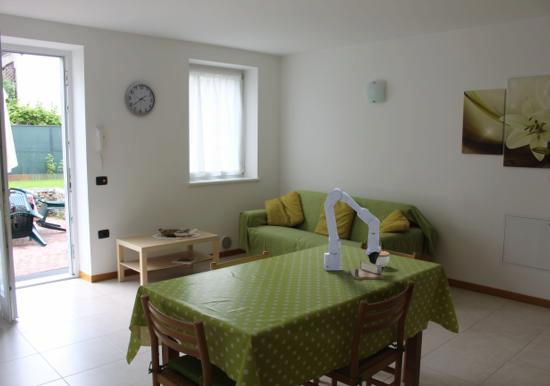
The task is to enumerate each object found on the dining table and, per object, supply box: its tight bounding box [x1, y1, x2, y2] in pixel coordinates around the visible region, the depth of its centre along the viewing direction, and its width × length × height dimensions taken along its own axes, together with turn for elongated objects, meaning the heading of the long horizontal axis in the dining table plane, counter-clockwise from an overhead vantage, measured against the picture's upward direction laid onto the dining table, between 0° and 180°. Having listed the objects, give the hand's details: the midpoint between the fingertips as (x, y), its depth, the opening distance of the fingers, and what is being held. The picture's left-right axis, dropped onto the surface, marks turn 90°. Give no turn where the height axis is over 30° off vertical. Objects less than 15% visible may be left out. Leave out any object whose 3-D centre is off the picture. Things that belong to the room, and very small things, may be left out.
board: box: [348, 267, 384, 280], centre depth 256 cm, size 15×15×5 cm
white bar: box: [359, 260, 383, 275], centre depth 258 cm, size 14×2×4 cm, turn 36°
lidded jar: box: [376, 250, 390, 268], centre depth 273 cm, size 11×11×9 cm
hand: (372, 265), depth 262 cm, fingers closed
